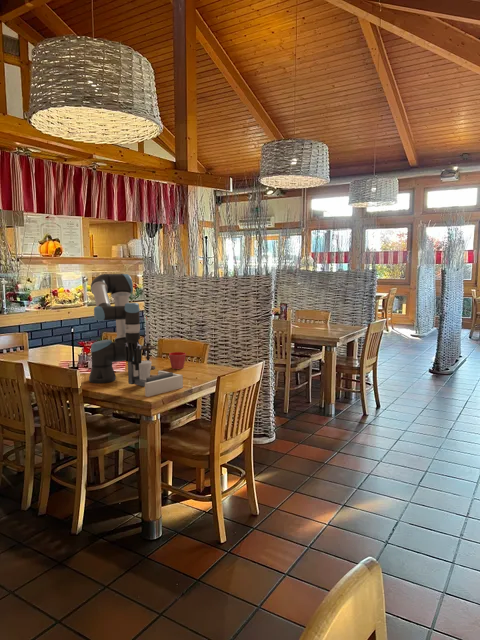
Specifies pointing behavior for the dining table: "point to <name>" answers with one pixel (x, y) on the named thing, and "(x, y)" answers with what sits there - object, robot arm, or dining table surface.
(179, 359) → the flower pot
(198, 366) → the dining table surface
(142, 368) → the cup
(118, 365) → the dining table surface
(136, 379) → the crook tool
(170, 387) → the cubby
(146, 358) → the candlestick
